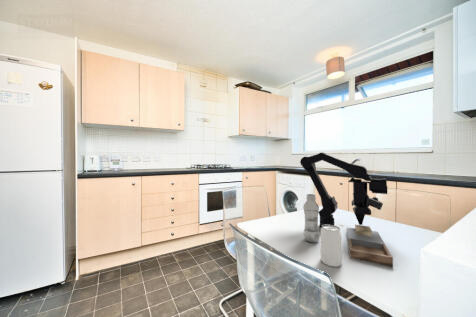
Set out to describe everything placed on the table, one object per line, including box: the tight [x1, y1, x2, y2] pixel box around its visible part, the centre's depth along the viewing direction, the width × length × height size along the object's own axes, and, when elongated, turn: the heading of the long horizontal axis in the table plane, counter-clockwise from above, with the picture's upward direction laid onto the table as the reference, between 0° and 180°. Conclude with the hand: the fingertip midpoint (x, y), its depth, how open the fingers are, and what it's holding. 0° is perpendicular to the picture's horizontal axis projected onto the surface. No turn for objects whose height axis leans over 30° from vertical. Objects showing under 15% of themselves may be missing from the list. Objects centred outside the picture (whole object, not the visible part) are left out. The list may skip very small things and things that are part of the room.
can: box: [320, 224, 343, 268], centre depth 64 cm, size 6×6×12 cm
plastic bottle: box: [303, 193, 320, 243], centre depth 81 cm, size 6×7×20 cm
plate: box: [346, 227, 386, 250], centre depth 80 cm, size 12×14×3 cm
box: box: [347, 239, 394, 267], centre depth 69 cm, size 12×11×3 cm
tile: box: [354, 224, 373, 237], centre depth 82 cm, size 6×6×2 cm
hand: (360, 224), depth 89 cm, fingers closed
